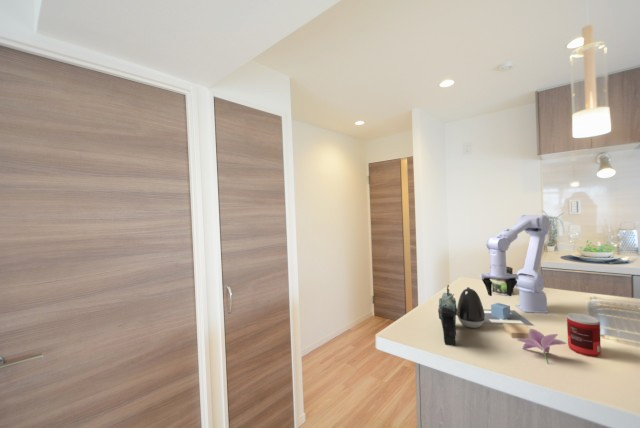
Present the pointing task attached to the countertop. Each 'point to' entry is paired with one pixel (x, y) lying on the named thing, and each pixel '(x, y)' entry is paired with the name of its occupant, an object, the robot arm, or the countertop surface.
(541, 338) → the lily
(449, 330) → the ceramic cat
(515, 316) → the letter card
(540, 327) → the countertop surface
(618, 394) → the countertop surface
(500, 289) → the coffee can
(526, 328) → the oak slab
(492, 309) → the blue cube
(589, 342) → the canned food
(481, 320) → the black egg shaped container
